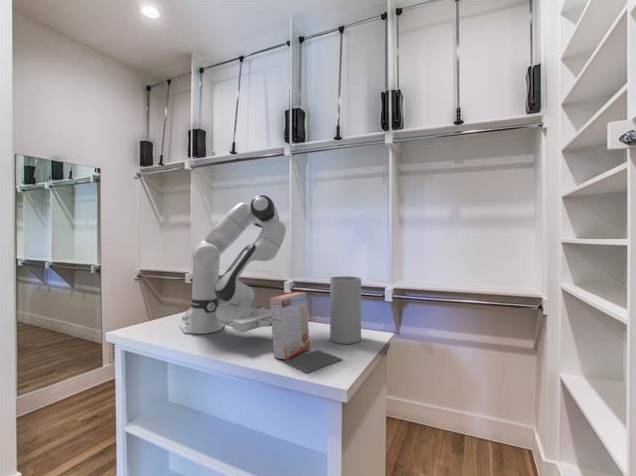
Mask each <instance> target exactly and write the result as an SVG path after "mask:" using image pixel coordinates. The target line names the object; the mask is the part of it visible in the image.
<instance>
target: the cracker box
mask: <svg viewBox="0 0 636 476" xmlns="http://www.w3.org/2000/svg"><path fill="white" fill-rule="evenodd" d="M269 305H270V310H271V320H272V326H271V329H272V331H271V333H272V335H271V336H272V347H273V348H272V349H273V358H274V359H280V360H283V361H285V360H288V359H291V358H294V357H296V356H297V355H299V354H301V353H303V352H305V351H308V350H309V349H310V348H311V347H310V346H311V345H310V342H311V341H310V331H309V330H310V328H309V317H308V302H307V292H306V291H305V292H303V291H302V292H300V291H294V292H291V293H286V294H282V295H277V296H274V297H273V296H272V297H270V298H269Z"/></svg>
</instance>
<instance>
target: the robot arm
mask: <svg viewBox="0 0 636 476" xmlns="http://www.w3.org/2000/svg"><path fill="white" fill-rule="evenodd" d="M279 218H280V216H279V214H278V209H277V207H276V206H275V204H274V201H273V200H272V198H271V197H269V196H268V195H264V194H259V195H257V196H255V197H254V198H252V200H251V202H250V204H249V203H248V202H246V201H245V202H244V201H243V202H242V201H241V202H239V203H237V204H236V205H235V206H234V207H232V208H231V209H230V210H229V211H228V212H227V213H226V214H225V215H224V216H223V217H222V218H221V219H220V220H219V221H218V223H217V224H216V225H215V226H214V227H213V228H212V229H211V230H210V231H208V233H206V235H205V236H204V237H202V239H201V240H200V241H199V242H198V243H197V244H196V245H195V246H194V248H192V252H191V256H192V282H191V284H192V285H191V286H192V287H191V288H192V289H191V291H192V298H191V299H190V300H191V301H190V305H189V306H190V307H189V308H188V309H187V311H186V312H185V313H184V315H182V317H181V318H182V321H183V322H180V323H179V325H178V326H179V328H180V330H181V331H182V333H183V334H185V335H186V334H188V335H189V334H195V335H196V334H197V335H199V334H210V333H215V332H220V331H221V330H222V329H223V328H224V327H226V326H229V327H231V328H232V329H233V330H234V331H235V332H238V333H245V332H249V331H252V330H255V329H259V328H263V327H265V328H266V327H267V328H270V327H272V320H271V309H268V308H267V309H266V308H265V307H263V306H258V307H256V306H255V307H253V306H254V303H255V299H256V293H255V290H254V288H252V287H250V286H248V285H247V284H245V283H243V282H241V281H239V277H240V276H241V275H242V273H243V272H244V270H245V269H246V268H247V266H248V265H249V264H250V263H251V262H255V261H258V262H268V261H269V262H270V261H272V260H273V259H275V257H276V256H277V255H278V253H279V251H280V249H281V247H282V245H283V242H284V240H285V237H286V233H287V227H286V225H285V224H284V223H283V222H282V221H280V219H279ZM251 224H253V225H254V226H256V227H260V229H261V230H260V232H259V235H258V236H257V237H256V239H255V241H253V243H251V244H248V245H246V246H245V247H244V248H243V249H242V250H241V251H240V253H239V254H238V255H237V257H236V258H235V259H234V261H233V262H232V263H231V264H230V266H229V267H228V268H227V270H226V271H225V272H224V273H223V275H222V276H220V261H221V260H220V258H221V256H222V254H223V253H224V252H225V251H226V250H227V249H228V248H229V247H231V245H233V244H234V243H235V241H236V240H237V239H238V238H239V237H240V236H241V235H242V234H243V233H244V231H245V230H246V229H247V228H248V227H249V226H250V225H251ZM220 300H221V301H223V302H224V303H221V304H220V302H221V301H220Z"/></svg>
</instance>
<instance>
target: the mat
mask: <svg viewBox="0 0 636 476" xmlns="http://www.w3.org/2000/svg"><path fill="white" fill-rule="evenodd" d="M341 361H343V358H341V357H338V356H337V355H334V354H332V353H328V352H325V351H322V350H320V349H317V350H313V351H310V352H307V353H305V354H301V355H298V356H297V355H296V356H293V357H291V358H289V359H287V360H283V361H282V362H283V364H286V365H289V366H290V367H292V368H295V369H297V370H299V371H301V372H303V373H305V374H309V373H312V372H315V371H317V370H319V369H323V368H325V367H328V366H330V365H332V364H335V363H339V362H341Z"/></svg>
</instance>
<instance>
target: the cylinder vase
mask: <svg viewBox="0 0 636 476" xmlns="http://www.w3.org/2000/svg"><path fill="white" fill-rule="evenodd" d="M329 282H330V284H329V286H330V289H329V292H330V293H329V295H330V297H329V298H330V299H329V300H330V301H329V309H330V310H329V318H330V319H329V321H330V322H329V338H330V340H331V341H332V342H333V343H336V344H339V345H340V344H341V345H353V344H357V343H359V342H360V341H361V339H362V278H361V277H358V276H342V275H341V276H332V277H330V280H329Z"/></svg>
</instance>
